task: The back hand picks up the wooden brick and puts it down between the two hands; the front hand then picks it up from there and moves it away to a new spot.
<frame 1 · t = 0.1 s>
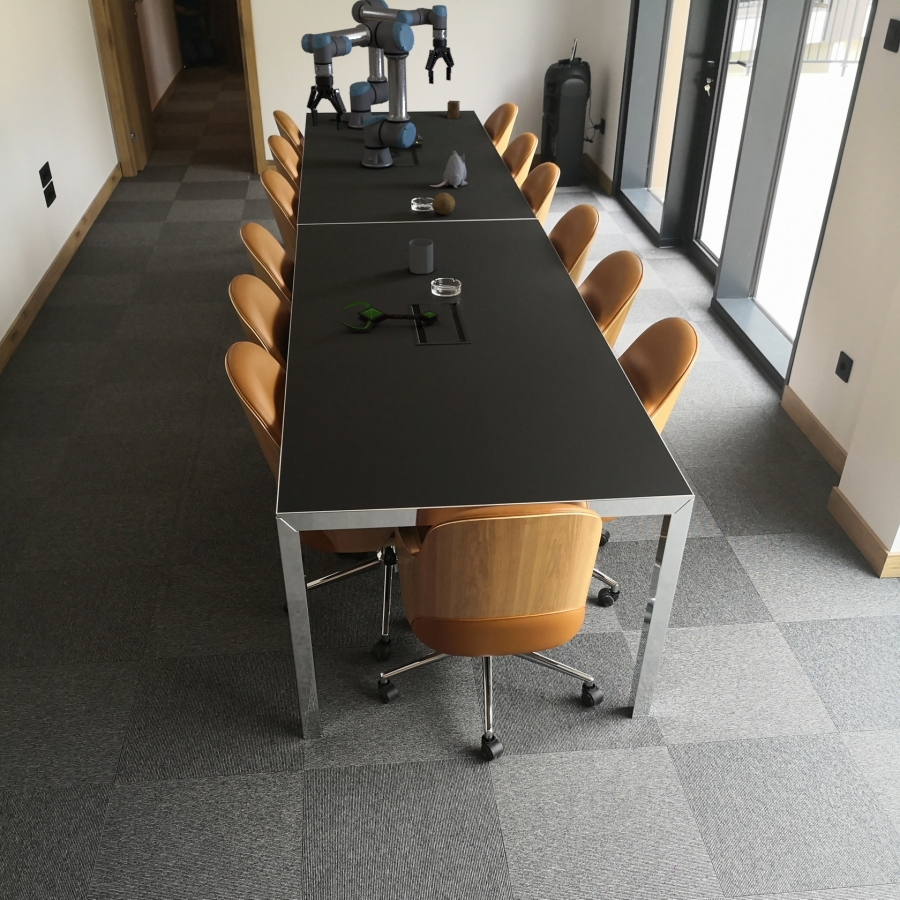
front hand: (327, 128, 372), 28 cm above the table, tool pointing down, fingers open, 13 cm apart
back hand: (439, 82, 465), 28 cm above the table, tool pointing down, fingers open, 13 cm apart
cup: (421, 270, 308), on the table
toy: (447, 188, 394), on the table
brick: (453, 117, 520), on the table
apple: (383, 142, 467), on the table
potato: (443, 213, 363), on the table
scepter: (390, 324, 269), on the table
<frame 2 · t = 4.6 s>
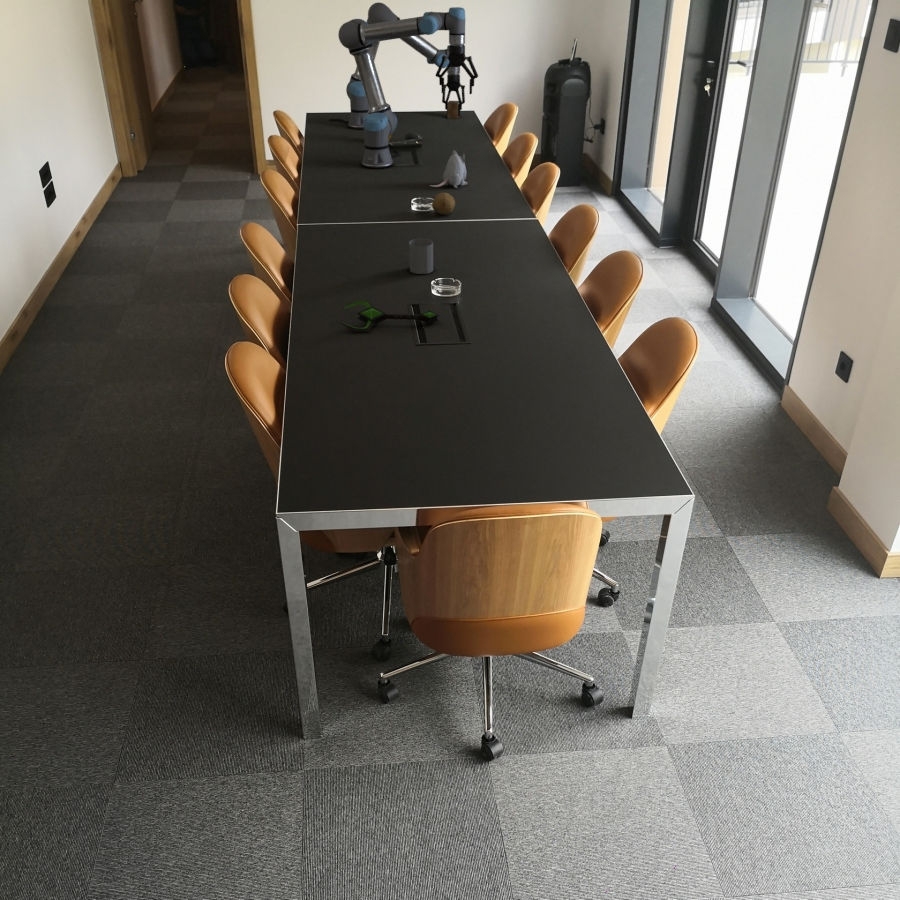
front hand: (456, 93, 415), 32 cm above the table, tool pointing down, fingers open, 13 cm apart
back hand: (453, 115, 519), 1 cm above the table, tool pointing down, fingers closed on brick, 6 cm apart
brick: (453, 117, 520), on the table, touching back hand
everything else where it was.
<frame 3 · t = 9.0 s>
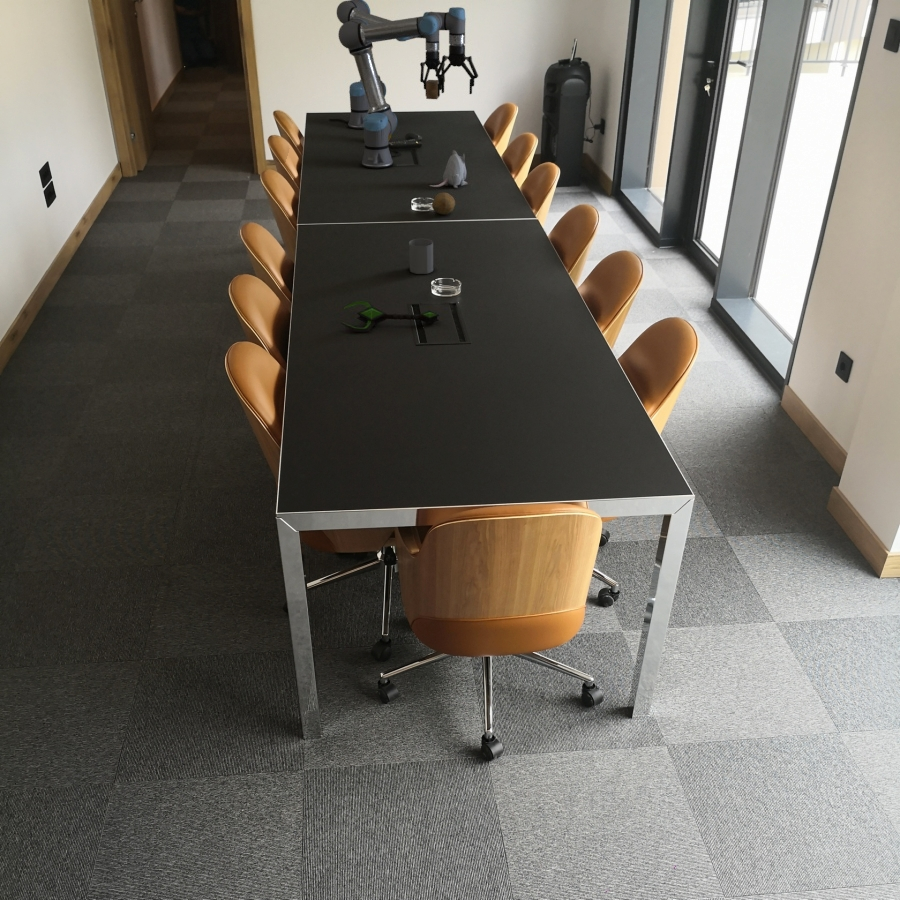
front hand: (456, 93, 415), 32 cm above the table, tool pointing down, fingers open, 13 cm apart
back hand: (432, 95, 484), 18 cm above the table, tool pointing down, fingers closed on brick, 6 cm apart
brick: (432, 97, 485), point 17 cm above the table, touching back hand
everything else where it was.
when the back hand's fingers open (2 cm above the table, at t = 13.6 s): brick drops 1 cm, on the table.
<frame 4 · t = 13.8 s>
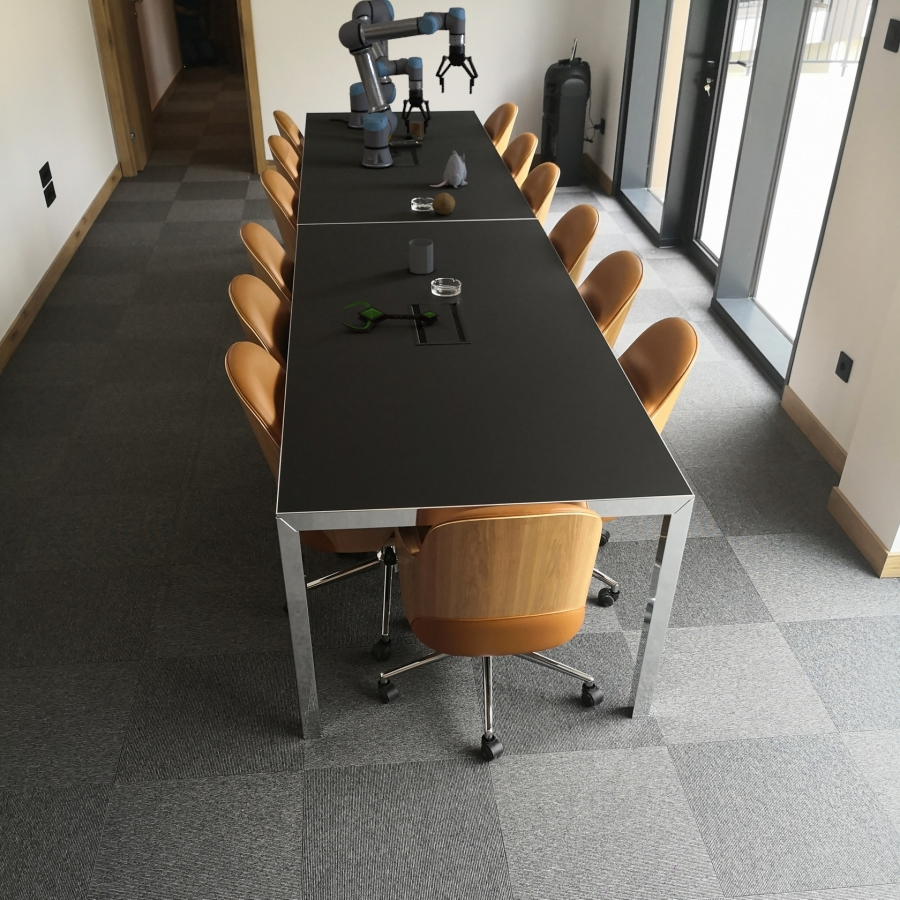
front hand: (456, 93, 415), 32 cm above the table, tool pointing down, fingers open, 13 cm apart
back hand: (416, 133, 473), 3 cm above the table, tool pointing down, fingers open, 9 cm apart
brick: (416, 138, 474), on the table
everything else where it was.
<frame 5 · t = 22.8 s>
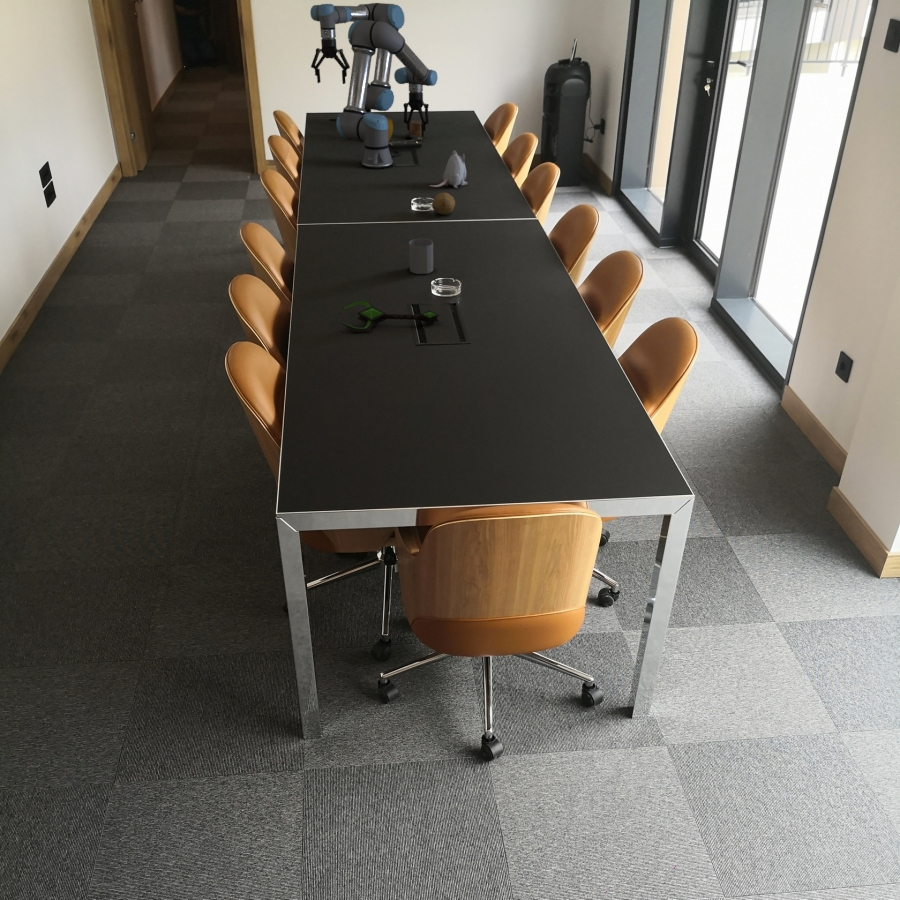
front hand: (416, 136, 474), 1 cm above the table, tool pointing down, fingers closed on brick, 6 cm apart
back hand: (331, 83, 451), 30 cm above the table, tool pointing down, fingers open, 13 cm apart
brick: (416, 138, 474), on the table, touching front hand
everything else where it was.
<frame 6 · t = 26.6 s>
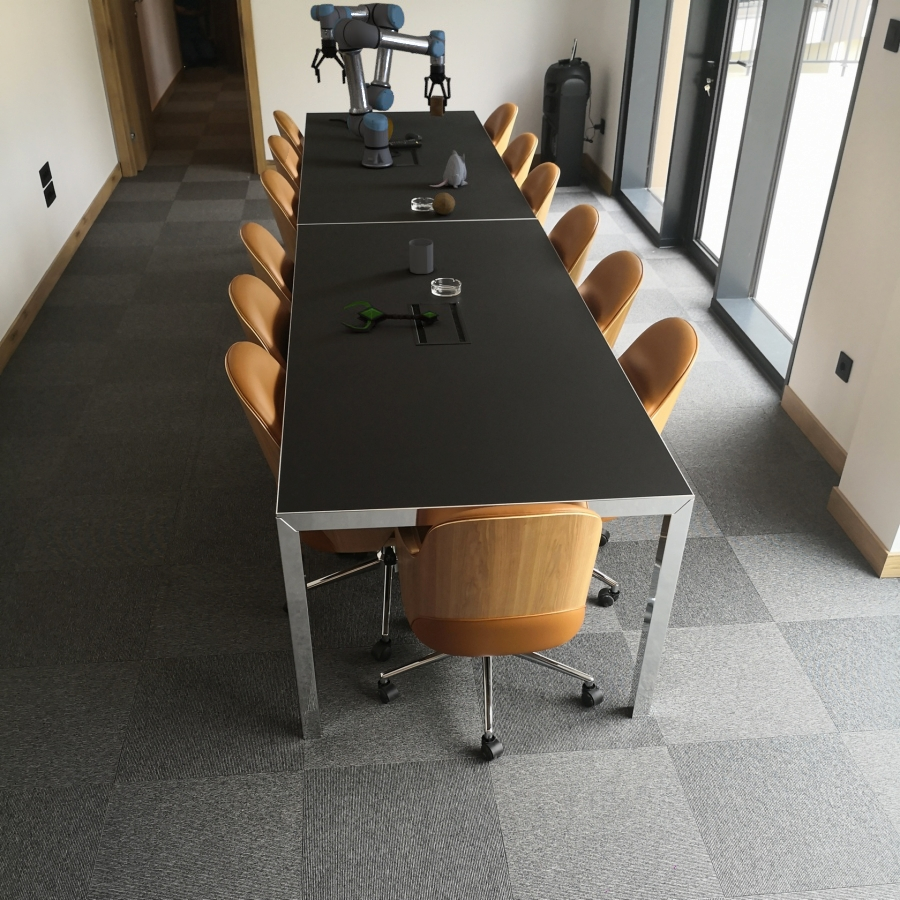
front hand: (437, 112, 447), 18 cm above the table, tool pointing down, fingers closed on brick, 6 cm apart
back hand: (331, 83, 451), 30 cm above the table, tool pointing down, fingers open, 13 cm apart
brick: (437, 115, 448), point 17 cm above the table, touching front hand
everything else where it was.
when the front hand's fingers open (2 cm above the table, at t = 30.7 s): brick drops 1 cm, on the table.
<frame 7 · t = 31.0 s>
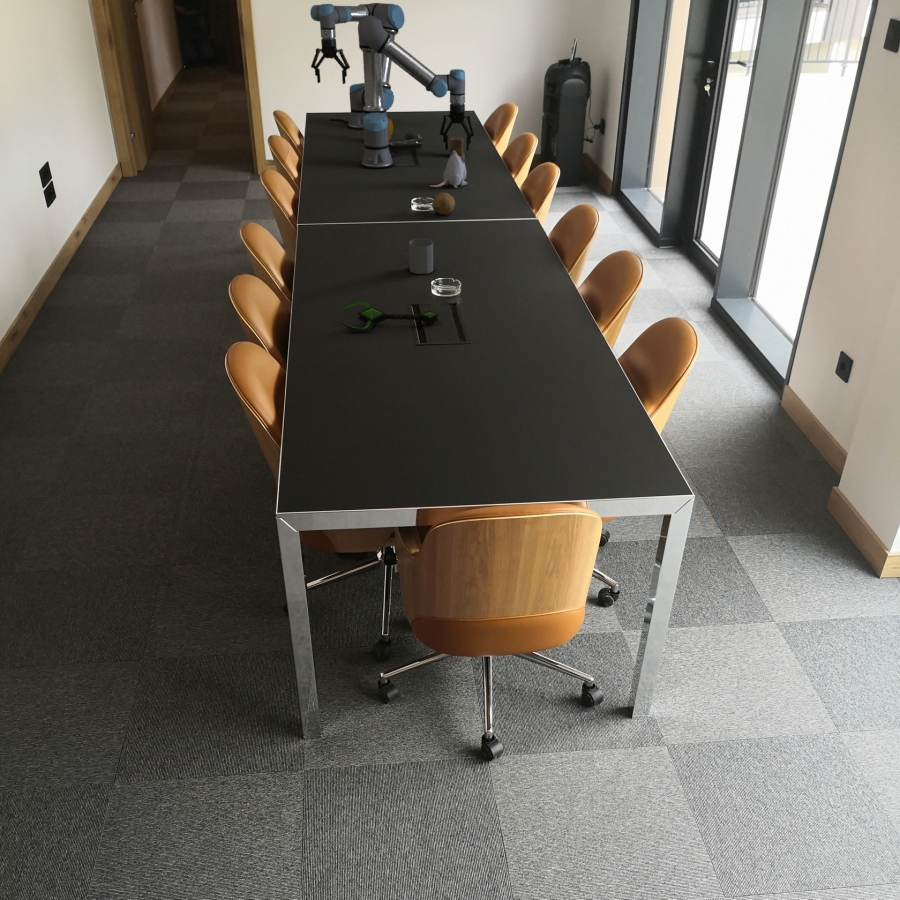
front hand: (457, 149, 441), 3 cm above the table, tool pointing down, fingers open, 10 cm apart
back hand: (331, 83, 451), 30 cm above the table, tool pointing down, fingers open, 13 cm apart
brick: (457, 156, 442), on the table
everything else where it was.
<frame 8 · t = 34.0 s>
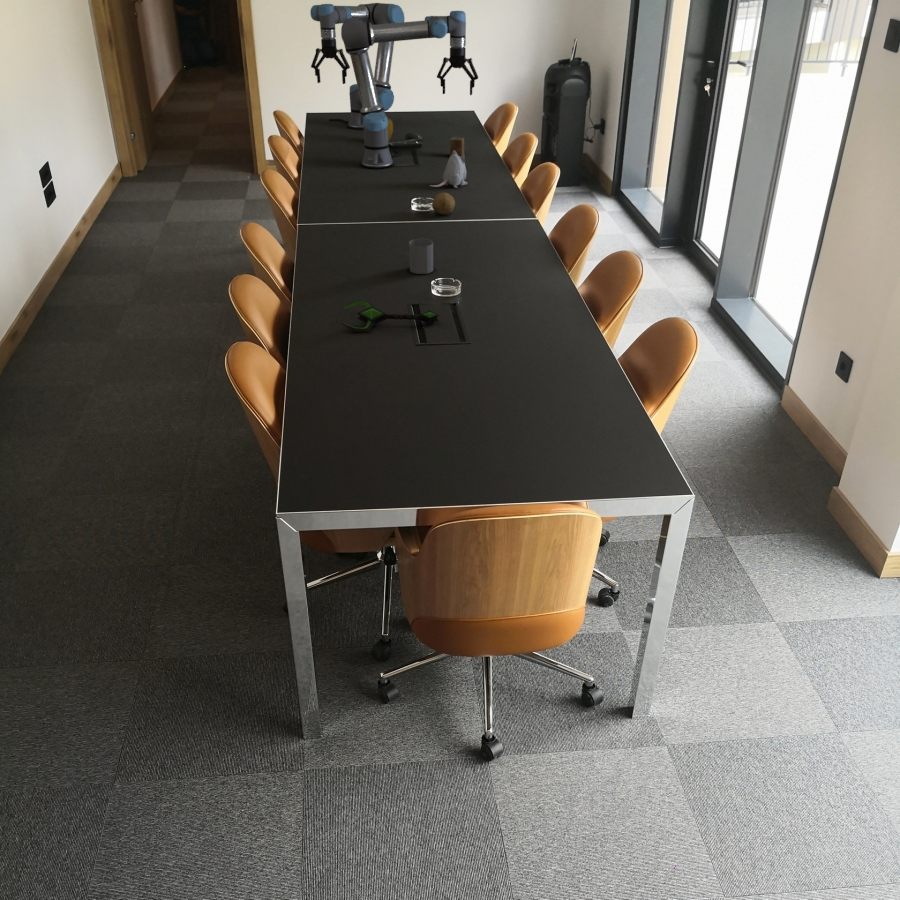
front hand: (457, 94, 426), 30 cm above the table, tool pointing down, fingers open, 13 cm apart
back hand: (331, 83, 451), 30 cm above the table, tool pointing down, fingers open, 13 cm apart
nothing on the table moved.
at the end: brick inside the target area (0.0 cm from its centre), on the table; brick tilted 0°; the two hands never held the brick at the same time; the front hand is holding nothing; the back hand is holding nothing; brick at rest at the end (0.0 cm/s) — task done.
